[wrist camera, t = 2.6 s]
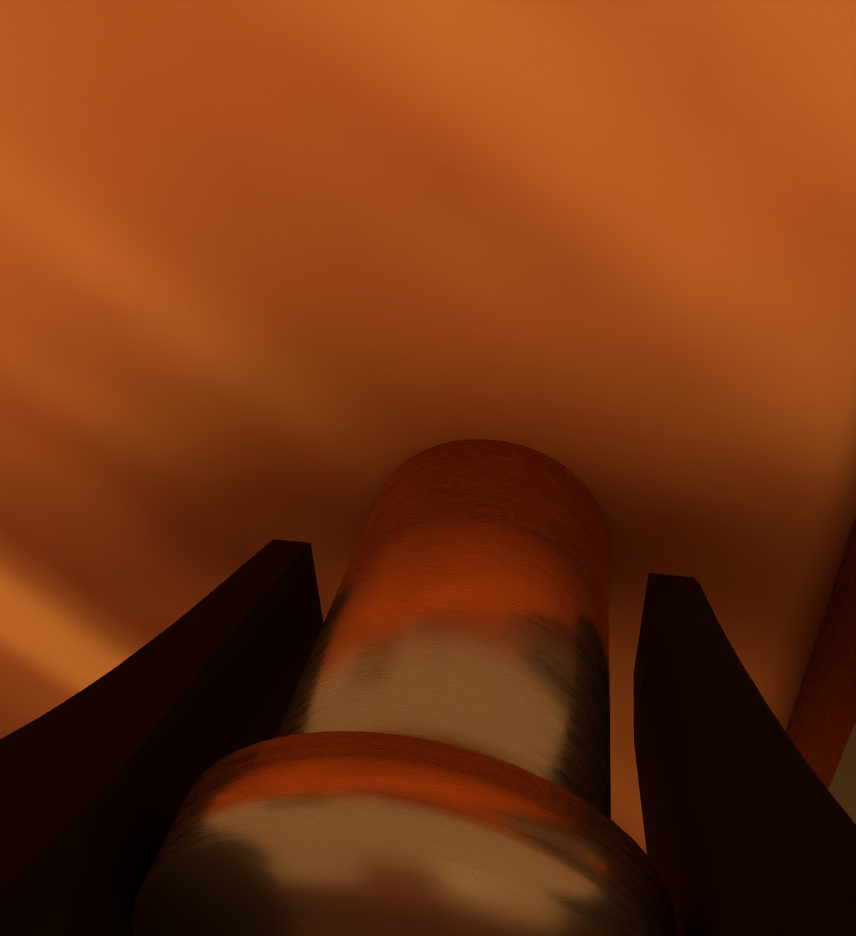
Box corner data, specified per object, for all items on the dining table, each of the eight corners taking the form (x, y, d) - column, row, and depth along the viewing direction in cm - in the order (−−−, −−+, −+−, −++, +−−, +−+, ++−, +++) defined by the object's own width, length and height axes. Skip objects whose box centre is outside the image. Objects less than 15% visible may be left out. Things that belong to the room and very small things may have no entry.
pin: (629, 666, 14) (647, 1162, 8) (353, 635, 15) (195, 1059, 9) (666, 416, 11) (734, 904, 5) (323, 397, 12) (63, 793, 6)
